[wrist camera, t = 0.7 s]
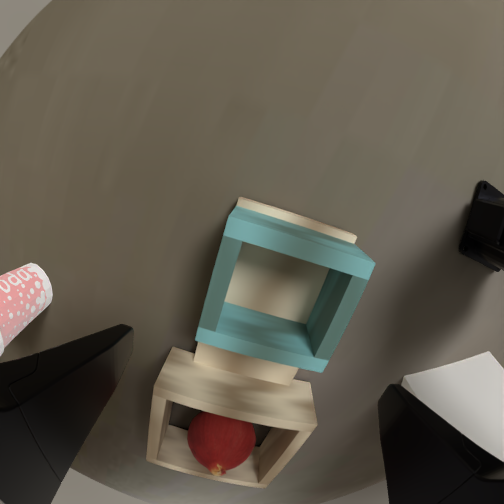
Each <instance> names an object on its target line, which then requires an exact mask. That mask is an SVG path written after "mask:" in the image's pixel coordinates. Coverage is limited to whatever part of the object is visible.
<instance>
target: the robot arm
mask: <svg viewBox="0 0 504 504" xmlns="http://www.w3.org/2000/svg"><path fill="white" fill-rule="evenodd" d="M483 185H484V188H483ZM464 247H465V249H464ZM463 249H464V250H463ZM459 252H460V253H462V254H463V255H465V256H468V257H470V258H471V259H473V260H475V261H477V262H479V263H481V264H483V265H485V266H487V267H489V268H491V269H493V270H495V271H496V272H499V271H500V270H501V269H502V270H503V271H504V195H503V194H502V193H501V192H500V191H498V190H497V189H496V188H495V187H493V186H492V185H491V184H489V183H488V182H487V181H483V180H482V181H480V182H479V185H478V189H477V193H476V196H475V200H474V203H473V207H472V210H471V213H470V216H469V220H468V223H467V226H466V229H465V231H464V234H463V237H462V240H461V243H460V245H459ZM133 335H134V331H133V328H132V327H130V326H127V325H125V324H119V325H117V326H114V327H111V328H108V329H105V330H102V331H100V332H97V333H94V334H91V335H88V336H85V337H82V338H80V339H77V340H74V341H71V342H68V343H65V344H62V345H59V346H56V347H53V348H50V349H47V350H44V351H41V352H40V353H35V354H32V355H29V356H26V357H22V358H19V359H16V360H11V361H7V362H3V363H0V504H51V502H52V500H53V498H54V496H55V494H56V492H57V490H58V488H59V487H60V484H61V482H62V481H63V479H64V477H65V475H66V473H67V471H68V470H69V468H70V466H71V464H72V462H73V461H74V459H75V457H76V455H77V453H78V452H79V450H80V448H81V446H82V445H83V443H84V441H85V439H86V438H87V436H88V434H89V432H90V431H91V429H92V427H93V425H94V424H95V422H96V420H97V419H98V417H99V415H100V414H101V412H102V410H103V409H104V407H105V405H106V404H107V402H108V400H109V399H110V397H111V395H112V394H113V392H114V390H115V388H116V386H117V384H118V382H119V380H120V378H121V375H122V373H123V371H124V369H125V367H126V364H127V362H128V360H129V358H130V356H131V353H132V350H133ZM378 414H379V428H380V440H381V447H382V453H383V459H384V466H385V473H386V480H387V488H388V496H389V504H504V462H503V461H501V460H500V459H498V458H497V457H495V456H493V455H492V454H490V453H489V452H487V451H486V450H484V449H483V448H481V447H480V446H478V445H477V444H476V443H474V442H473V441H471V440H470V439H469V438H467V437H466V436H465V435H464V434H462V433H461V432H460V431H458V430H457V429H456V428H455V427H453V426H452V425H451V424H449V423H448V422H447V421H446V420H444V419H443V418H442V417H441V416H439V415H438V414H437V413H435V412H434V411H433V410H432V409H430V408H429V407H428V406H427V405H425V404H424V403H423V402H422V401H420V400H419V399H418V398H416V397H415V396H414V395H413V394H411V393H410V392H409V391H408V390H406V389H405V388H404V387H403V386H401V385H399V384H390V385H389V386H388V387H387V389H386V390H385V392H384V393H383V395H382V396H381V398H380V399H379V401H378Z"/></svg>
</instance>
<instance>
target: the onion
mask: <svg viewBox="0 0 504 504" xmlns="http://www.w3.org/2000/svg"><path fill="white" fill-rule="evenodd" d="M187 441H188V445H189V448H190V450H191V452H192V454H193V456H194V457H195V459H196V460H197V461H198V462H199V463H200V464H202V465H203V466H204V467H206V468H207V469H208V470H209V471H210V472H211V473H212V474H213V475H214V476H222V475H224V474H226V470H230V469H233V468H236V467H237V466H239V465H240V464H242V463H243V462H244V461H245V460H247V458H248V457H249V456H250V454H251V452H252V450H253V448H254V446H255V442H256V436H255V431H254V427H253V425H252V423H251V422H246V421H242V420H237V419H233V418H229V417H225V416H221V415H217V414H213V413H209V412H206V411H201V412H200V413H199V414H198V415H197V416H195V417H194V418H193V420H192V422H191V424H190V426H189V430H188V435H187Z"/></svg>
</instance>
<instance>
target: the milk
mask: <svg viewBox="0 0 504 504" xmlns="http://www.w3.org/2000/svg"><path fill="white" fill-rule="evenodd" d="M401 386H403V387H404V388H405V389H406V390H408V391H409V392H410V393H411V394H413V395H414V396H415V397H416V398H418V399H419V400H420V401H422V402H423V403H424V404H425V405H427V406H428V407H429V408H430V409H432V410H433V411H434V412H435V413H437V414H438V415H439V416H441V417H442V418H443V419H444V420H446V421H447V422H448V423H449V424H451V425H452V426H453V427H455V428H456V429H457V430H458V431H460V432H461V433H462V434H464V435H465V436H466V437H467V438H469V439H470V440H471V441H473V442H474V443H476V444H477V445H478V446H480V447H481V448H483V449H484V450H486V451H487V452H489V453H490V454H492V455H493V456H495V457H497V458H498V459H500V460H501V461H503V462H504V369H503V368H502V366H501V365H500V364H499V363H498V362H497V360H496V359H495V358H494V357H493V355H492V354H491V353H490V352H489V351H488V352H485V353H482V354H479V355H476V356H474V357H471V358H468V359H464V360H461V361H458V362H455V363H451V364H448V365H445V366H441V367H438V368H434V369H430V370H426V371H422V372H418V373H414V374H410V375H405V376H404V377H403V381H402V384H401Z"/></svg>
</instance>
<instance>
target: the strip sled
mask: <svg viewBox="0 0 504 504" xmlns="http://www.w3.org/2000/svg"><path fill="white" fill-rule="evenodd" d="M356 238H357V237H356V236H355V235H354V234H353V233H350V232H347V231H344V230H341V229H339V228H336V227H333V226H330V225H327V224H324V223H321V222H318V221H315V220H312V219H309V218H306V217H303V216H300V215H297V214H294V213H291V212H288V211H285V210H282V209H279V208H276V207H273V206H269V205H266V204H263V203H260V202H257V201H253V200H250V199H247V198H243V197H239V199H238V202H237V205H236V207H235V208H234V210H233V211H232V212H231V214H230V215H229V217H228V220H227V224H226V227H225V231H224V234H223V238H222V241H221V245H220V248H219V252H218V255H217V259H216V263H215V266H214V270H213V273H212V277H211V281H210V284H209V288H208V292H207V296H206V299H205V303H204V307H203V311H202V315H201V318H200V322H199V326H198V330H197V334H196V338H195V341H198V345H197V349H196V352H195V354H194V353H191V352H188V351H185V350H182V349H179V348H176V347H172V349H171V351H170V353H169V355H168V357H167V359H166V361H165V363H164V365H163V368H162V370H161V372H160V374H159V376H158V378H157V380H156V382H155V385H154V389H153V397H152V405H151V414H150V423H149V433H148V444H147V456H146V461H149V462H152V463H154V464H157V465H161V466H164V467H167V468H170V469H173V470H177V471H180V472H184V473H187V474H191V475H195V476H199V477H203V478H208V479H212V480H217V481H222V482H227V483H232V484H238V485H244V486H250V487H258V488H266V487H267V486H268V484H269V483H270V482H271V481H272V480H273V479H274V478H275V477H276V476H277V474H278V473H279V472H280V471H281V470H282V469H283V468H284V466H285V465H286V464H287V463H288V462H289V461H290V459H291V458H292V457H293V456H294V454H295V453H296V452H297V451H298V450H299V448H300V447H301V446H302V445H303V443H304V442H305V441H306V439H307V438H308V437H309V435H310V434H311V433H312V432H313V430H314V429H315V428H316V426H317V425H318V424H317V419H316V413H315V407H314V402H313V396H312V391H311V385H310V382H305V381H300V380H295V379H293V378H294V376H295V374H296V372H297V370H298V368H302V369H306V370H311V371H316V372H321V373H322V372H323V370H324V368H325V367H326V365H327V363H328V361H329V359H330V358H331V356H332V354H333V352H334V350H335V348H336V347H337V345H338V343H339V341H340V339H341V337H342V335H343V333H344V331H345V329H346V327H347V325H348V323H349V321H350V319H351V317H352V315H353V313H354V311H355V309H356V307H357V304H358V302H359V300H360V298H361V296H362V294H363V291H364V289H365V287H366V285H367V282H368V280H369V278H370V275H371V273H372V271H373V268H374V266H375V264H376V263H375V262H374V261H373V260H372V259H370V258H369V257H368V256H367V255H366V254H365V253H364V252H363V251H362V250H361V249H359V248H358V247H357V246H356V245H355V244H354V243H355V241H356ZM173 402H176V403H179V404H182V405H185V406H189V407H192V408H195V409H199V410H202V411H206V412H209V413H213V414H217V415H221V416H225V417H229V418H233V419H237V420H242V421H246V422H251V423H256V424H261V425H267V426H272V428H271V430H270V432H269V433H268V435H267V436H266V438H265V439H264V441H263V443H262V444H261V446H260V447H256V446H254V448H253V450H252V452H251V454H250V456H249V457H248V458H247V460H245V461H244V462H243V463H242V464H240V465H239V466H237V467H236V468H233V469H230V470H226V474H224V475H222V476H214V475H213V474H212V473H211V472H210V471H209V470H208V469H207V468H206V467H204V466H203V465H202V464H200V463H199V462H198V461H197V460H196V459H195V457H194V456H193V454H192V452H191V450H190V448H189V445H188V441H187V435H188V430H184V429H181V428H178V427H175V426H172V425H169V419H170V414H171V409H172V404H173Z"/></svg>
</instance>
